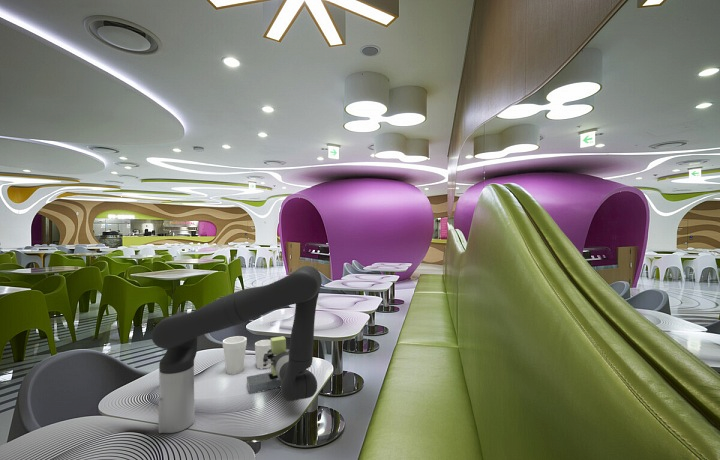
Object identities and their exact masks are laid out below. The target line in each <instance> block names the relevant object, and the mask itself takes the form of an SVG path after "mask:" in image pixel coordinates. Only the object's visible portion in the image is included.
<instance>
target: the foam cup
mask: <svg viewBox="0 0 720 460" xmlns="http://www.w3.org/2000/svg"><path fill="white" fill-rule="evenodd" d="M247 340H248V339H247V336H246V337H245V336H241V335H237V336H230V337H227V338H225V339H223V340H222V349H223V354H224V355H223V356H224V360H225V367H226V373H227V374H228V375H236V374H240V373H243V371H244V367H245V358H246V349H247V345H248V343H247V342H248V341H247Z"/></svg>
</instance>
